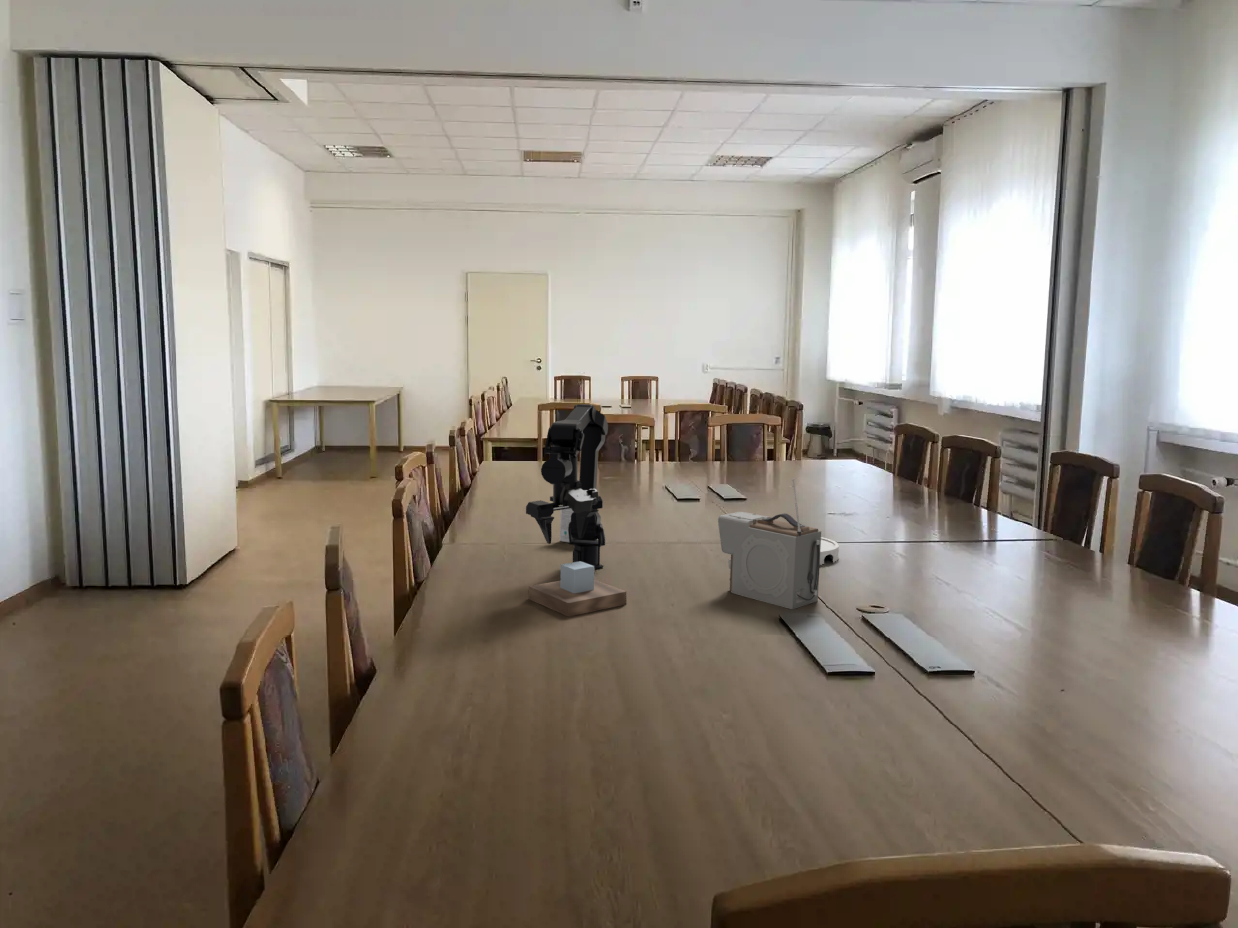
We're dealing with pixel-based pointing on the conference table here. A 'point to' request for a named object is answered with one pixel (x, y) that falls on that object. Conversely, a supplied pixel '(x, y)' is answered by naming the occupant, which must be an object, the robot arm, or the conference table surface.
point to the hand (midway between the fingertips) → (565, 540)
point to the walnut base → (577, 598)
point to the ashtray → (828, 549)
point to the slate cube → (577, 577)
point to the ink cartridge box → (565, 524)
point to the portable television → (772, 558)
